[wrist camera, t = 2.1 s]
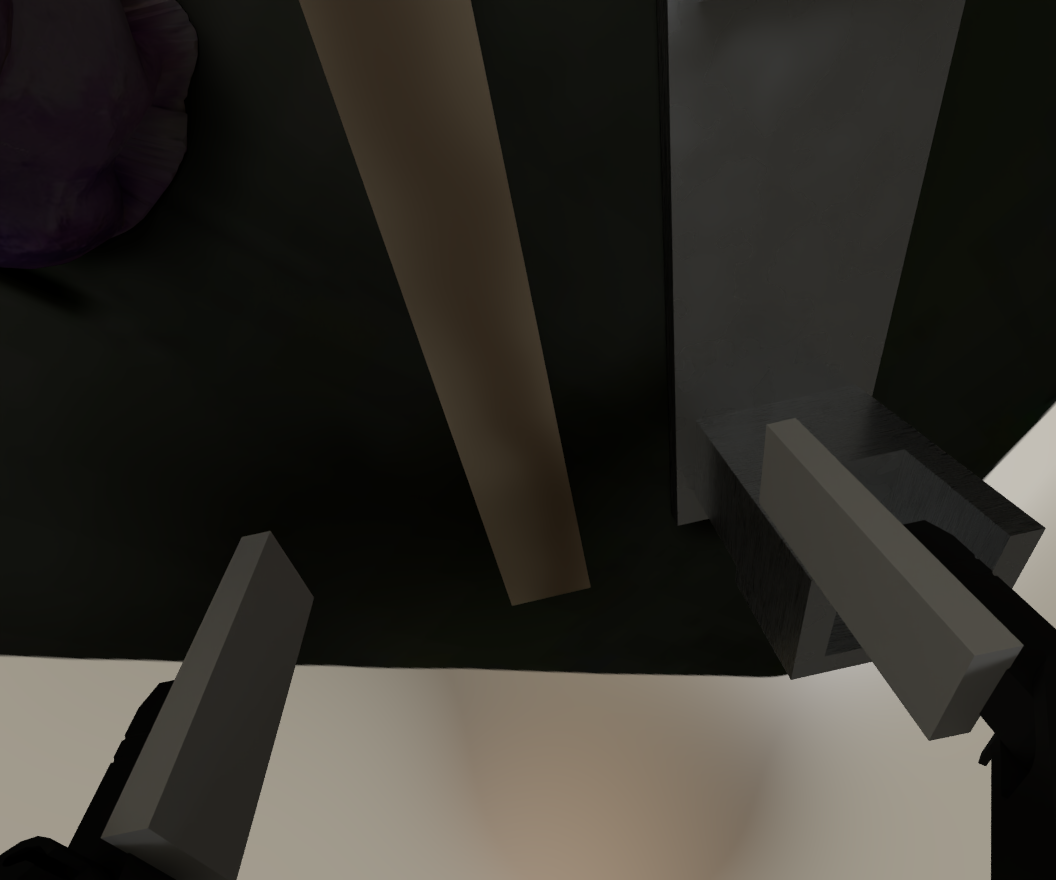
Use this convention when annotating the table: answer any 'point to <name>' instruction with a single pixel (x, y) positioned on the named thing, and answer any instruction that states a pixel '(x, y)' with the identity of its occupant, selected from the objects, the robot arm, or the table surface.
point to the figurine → (87, 120)
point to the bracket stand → (802, 279)
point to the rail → (458, 263)
